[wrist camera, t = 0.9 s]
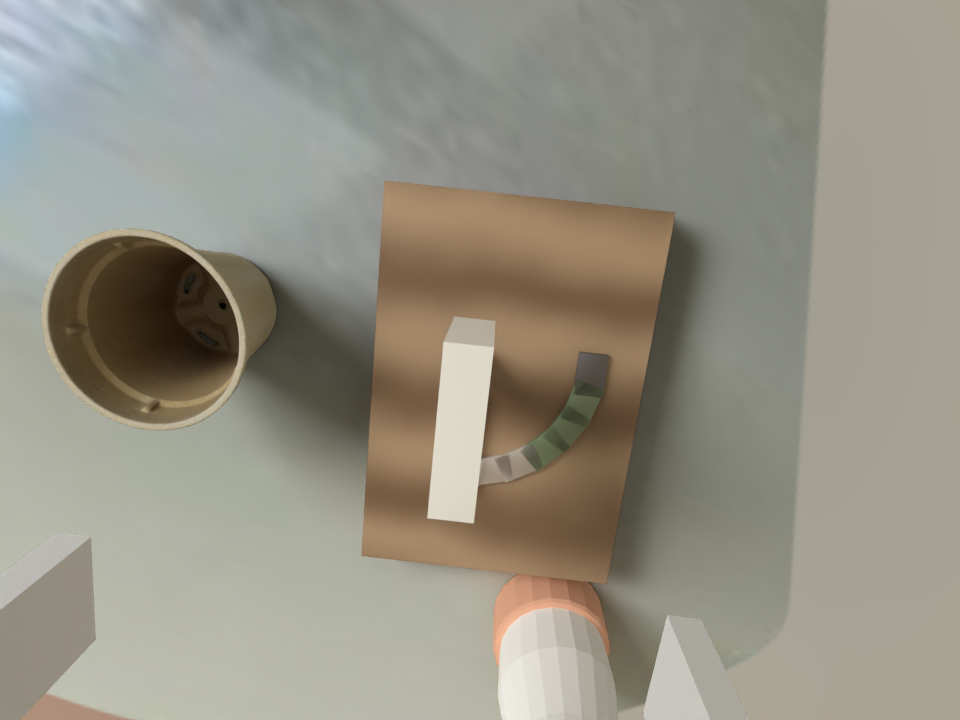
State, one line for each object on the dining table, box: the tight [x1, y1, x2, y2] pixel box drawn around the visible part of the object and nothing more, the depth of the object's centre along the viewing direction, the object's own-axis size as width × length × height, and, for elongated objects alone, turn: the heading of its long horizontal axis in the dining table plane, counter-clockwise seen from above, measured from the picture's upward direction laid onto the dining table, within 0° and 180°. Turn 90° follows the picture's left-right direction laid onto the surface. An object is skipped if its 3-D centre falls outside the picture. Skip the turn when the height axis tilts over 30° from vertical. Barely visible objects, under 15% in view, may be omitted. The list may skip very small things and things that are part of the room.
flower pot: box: [41, 228, 277, 430], centre depth 31 cm, size 9×9×9 cm
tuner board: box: [362, 181, 675, 584], centre depth 34 cm, size 22×15×3 cm
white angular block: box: [427, 316, 495, 523], centre depth 27 cm, size 11×2×11 cm, turn 174°
